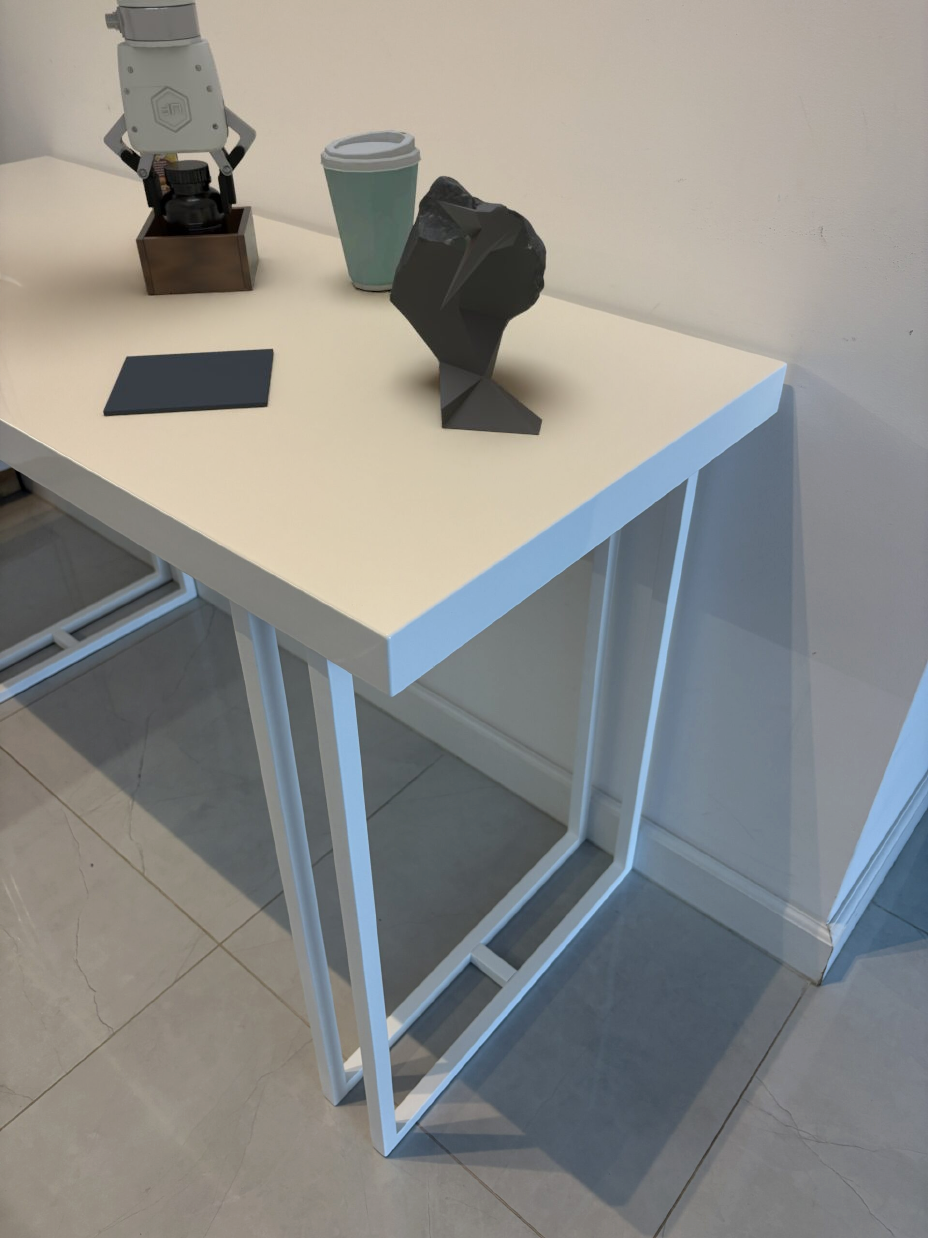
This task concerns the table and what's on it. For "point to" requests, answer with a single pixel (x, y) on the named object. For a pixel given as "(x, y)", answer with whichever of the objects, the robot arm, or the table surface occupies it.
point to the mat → (191, 382)
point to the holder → (199, 257)
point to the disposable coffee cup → (373, 201)
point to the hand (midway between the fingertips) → (194, 211)
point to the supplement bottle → (192, 200)
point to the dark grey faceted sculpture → (469, 299)
